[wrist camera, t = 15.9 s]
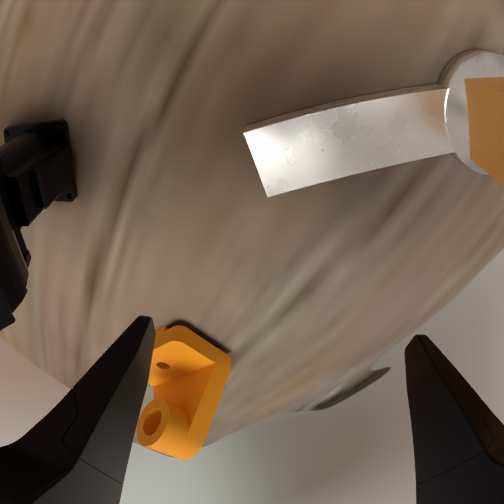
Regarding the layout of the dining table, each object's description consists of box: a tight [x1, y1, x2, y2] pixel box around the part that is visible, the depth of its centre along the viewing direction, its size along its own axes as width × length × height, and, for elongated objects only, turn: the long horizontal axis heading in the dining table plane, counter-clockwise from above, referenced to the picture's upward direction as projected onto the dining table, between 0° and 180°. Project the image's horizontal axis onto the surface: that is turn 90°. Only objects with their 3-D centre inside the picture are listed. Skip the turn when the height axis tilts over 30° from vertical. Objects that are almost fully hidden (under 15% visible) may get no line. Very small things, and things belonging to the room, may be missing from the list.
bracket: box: [137, 325, 231, 460], centre depth 28 cm, size 11×7×12 cm, turn 130°
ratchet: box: [244, 49, 504, 197], centre depth 15 cm, size 22×9×5 cm, turn 109°
